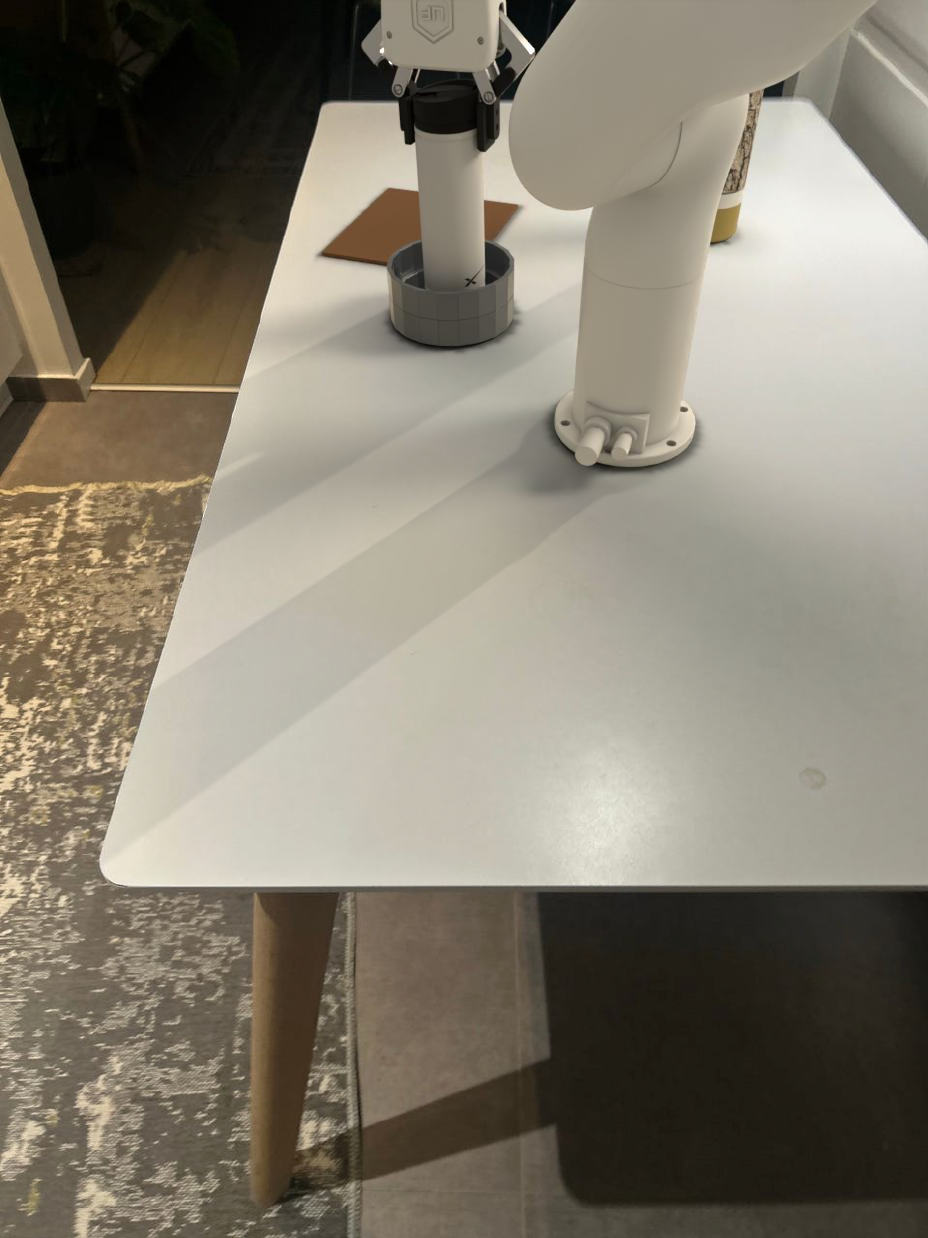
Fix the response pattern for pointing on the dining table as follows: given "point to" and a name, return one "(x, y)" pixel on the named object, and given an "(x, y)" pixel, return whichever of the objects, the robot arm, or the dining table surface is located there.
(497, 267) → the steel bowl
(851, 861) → the dining table surface
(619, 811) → the dining table surface
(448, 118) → the travel mug
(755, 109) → the paper tube
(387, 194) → the cork mat
